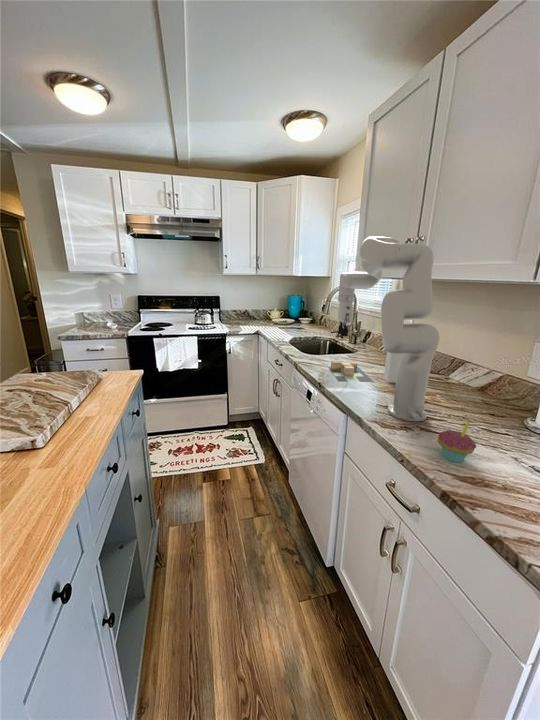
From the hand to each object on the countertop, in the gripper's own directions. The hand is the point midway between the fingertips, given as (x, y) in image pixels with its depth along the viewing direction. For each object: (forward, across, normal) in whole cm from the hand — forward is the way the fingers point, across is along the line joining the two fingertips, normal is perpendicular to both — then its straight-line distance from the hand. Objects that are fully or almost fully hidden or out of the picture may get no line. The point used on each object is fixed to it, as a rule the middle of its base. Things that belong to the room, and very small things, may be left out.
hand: (342, 334), depth 151 cm
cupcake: (+18, -80, -10) cm, 82 cm away
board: (+17, -14, -1) cm, 22 cm away
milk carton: (+18, -22, -19) cm, 34 cm away
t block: (+16, -11, 0) cm, 20 cm away
